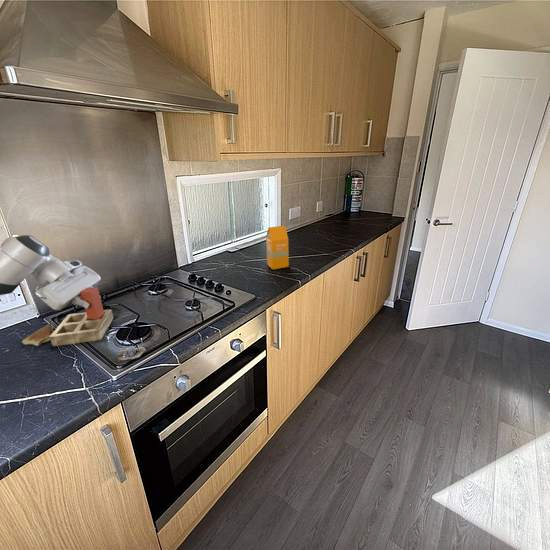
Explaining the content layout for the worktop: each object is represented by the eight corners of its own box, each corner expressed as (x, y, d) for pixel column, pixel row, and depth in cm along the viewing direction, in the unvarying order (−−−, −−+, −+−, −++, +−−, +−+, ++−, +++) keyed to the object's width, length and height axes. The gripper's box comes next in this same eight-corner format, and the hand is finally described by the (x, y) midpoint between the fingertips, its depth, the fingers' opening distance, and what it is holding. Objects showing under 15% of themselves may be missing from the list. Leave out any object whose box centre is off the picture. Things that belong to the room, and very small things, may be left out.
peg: (87, 319, 98) (79, 291, 94) (94, 313, 101) (87, 287, 98) (98, 319, 98) (90, 291, 94) (104, 313, 101) (97, 287, 97)
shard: (52, 325, 101) (50, 321, 101) (71, 327, 100) (69, 322, 99) (22, 344, 92) (20, 339, 91) (42, 346, 90) (40, 341, 89)
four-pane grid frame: (52, 346, 90) (49, 337, 89) (71, 322, 103) (68, 314, 101) (101, 339, 93) (98, 330, 91) (113, 317, 105) (111, 309, 104)
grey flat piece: (113, 354, 86) (112, 349, 85) (142, 343, 90) (140, 338, 90) (119, 366, 81) (118, 360, 80) (149, 353, 86) (147, 348, 85)
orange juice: (288, 266, 146) (288, 227, 138) (272, 269, 143) (271, 229, 135) (282, 261, 152) (282, 223, 144) (266, 264, 149) (265, 225, 142)
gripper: (34, 283, 84) (77, 312, 87) (82, 258, 103) (115, 283, 106) (25, 296, 86) (67, 325, 89) (73, 270, 105) (107, 294, 108)
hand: (94, 302), depth 98 cm, fingers closed on peg, 3 cm apart
